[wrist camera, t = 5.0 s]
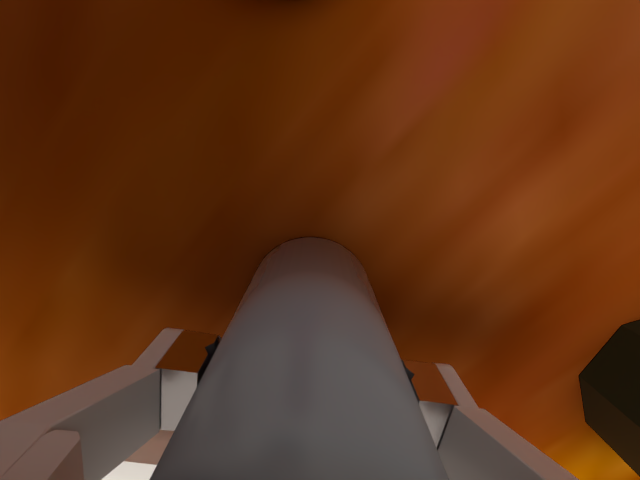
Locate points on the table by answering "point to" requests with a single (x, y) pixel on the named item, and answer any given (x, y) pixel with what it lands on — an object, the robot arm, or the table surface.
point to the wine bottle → (616, 393)
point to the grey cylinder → (304, 383)
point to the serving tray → (142, 459)
